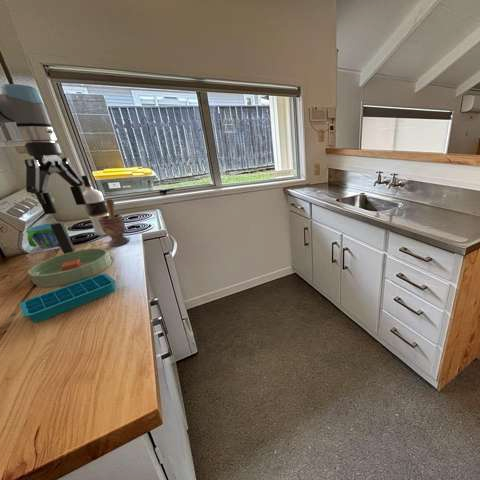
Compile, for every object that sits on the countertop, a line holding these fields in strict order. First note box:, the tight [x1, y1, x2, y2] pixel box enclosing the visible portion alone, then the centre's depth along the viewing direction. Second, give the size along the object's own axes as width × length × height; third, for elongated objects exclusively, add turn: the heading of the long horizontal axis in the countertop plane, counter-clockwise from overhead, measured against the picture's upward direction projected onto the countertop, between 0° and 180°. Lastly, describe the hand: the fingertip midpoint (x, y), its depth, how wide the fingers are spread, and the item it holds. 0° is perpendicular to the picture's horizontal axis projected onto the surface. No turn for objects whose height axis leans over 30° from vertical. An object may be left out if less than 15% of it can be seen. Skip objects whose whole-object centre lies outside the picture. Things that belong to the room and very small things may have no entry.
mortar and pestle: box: [98, 198, 130, 247], centre depth 118 cm, size 12×9×20 cm
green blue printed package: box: [25, 222, 60, 249], centre depth 119 cm, size 16×10×10 cm
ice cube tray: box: [19, 272, 117, 323], centre depth 77 cm, size 12×20×3 cm, turn 143°
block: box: [61, 259, 83, 271], centre depth 92 cm, size 4×4×4 cm
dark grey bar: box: [50, 221, 77, 254], centre depth 103 cm, size 3×3×16 cm
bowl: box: [27, 247, 113, 288], centre depth 94 cm, size 22×22×5 cm
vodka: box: [80, 175, 109, 237], centre depth 130 cm, size 9×9×30 cm
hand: (67, 208), depth 87 cm, fingers open, 13 cm apart
